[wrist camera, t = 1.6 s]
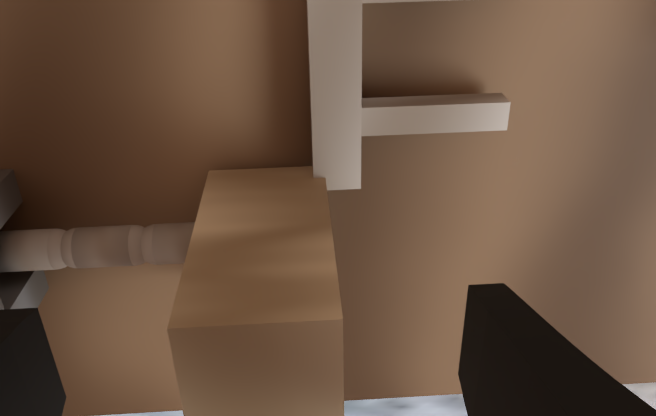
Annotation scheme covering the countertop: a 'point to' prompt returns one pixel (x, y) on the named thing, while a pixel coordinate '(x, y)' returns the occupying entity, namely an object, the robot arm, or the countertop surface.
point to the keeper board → (345, 205)
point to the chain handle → (267, 242)
